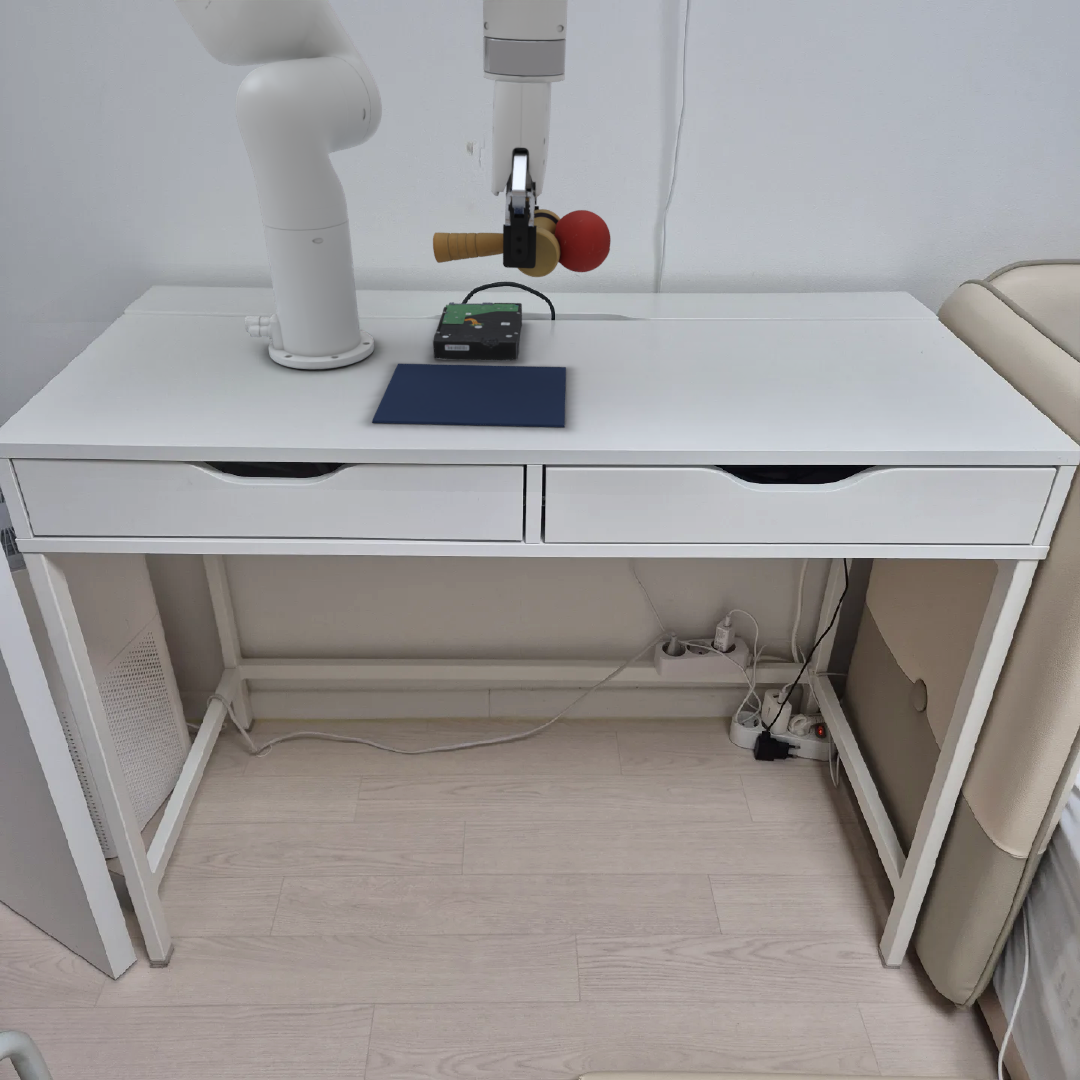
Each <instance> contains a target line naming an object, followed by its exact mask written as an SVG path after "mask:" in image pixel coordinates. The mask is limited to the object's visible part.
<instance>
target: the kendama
mask: <svg viewBox="0 0 1080 1080" xmlns="http://www.w3.org/2000/svg"><path fill="white" fill-rule="evenodd" d="M528 219H529V215H528ZM534 225H535V226H537V231H536V265H535V267H534V268H517V269H518V271H520V273H522V274H524V275H526V276H528V277H531V278H542V277H545V276H548V275H549V274H551V273H553V272H554V270H555V269H556V268H557V266H558V263H559V264H560V265H561V266H562V267H564V268H565V269H566V270H569V271H571V272H574V273H587V272H591V271H593V270H595V269H597V268H599V267H600V266H601V265H602V264H603V263H604V262H605V260H606V259H607V257H608V256H609V254H610V251H611V242H612V241H611V232H610V229H609V227H608V225H607V223H606V221H605V220H604V219H603V218H602V217H601V216H600V215H598V214H597V213H595V212H593V211H590V210H588V209H587V210H586V209H578V210H574V211H571V212H568V213H567V214H565V215H562V217H561V218H560V216H558V214H557V213H556V212H554V211H552V210H551V209H545V208H542V209H540V208H539V210H535V211H534ZM432 249H433V250H432V251H433V255H434V259H435V261H436V262H437V263H438V264H440V263H447V262H452V261H461V260H467V259H476V258H484V257H492V256H497V255H503V232H434V234H433V237H432Z"/></svg>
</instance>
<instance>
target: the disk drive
mask: <svg viewBox="0 0 1080 1080" xmlns="http://www.w3.org/2000/svg"><path fill="white" fill-rule="evenodd" d="M522 322H523V304H522V302H487V301H485V302H482V303H473V302H472V303H455V302H454V301H451V302H450V301H449V303H448V304H446V305H445V306H444V307H443V309H442V313H441V315H440V319H439V322H438V324H437V327H436V330H435V333H434V336H433V340H432V347H433V358H434V359H435V360H447V361H499V362H500V361H501V362H502V361H503V362H504V361H505V362H506V361H513V360H514V361H517V360H518V359H519V354H520V341H521V331H522V326H523V324H522Z"/></svg>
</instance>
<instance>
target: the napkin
mask: <svg viewBox="0 0 1080 1080" xmlns="http://www.w3.org/2000/svg"><path fill="white" fill-rule="evenodd" d="M566 387H567V367H566V366H537V365H536V366H534V365H533V366H531V365H525V366H524V365H486V364H485V365H484V364H483V365H482V364H480V365H479V364H445V363H443V364H441V363H440V364H439V363H436V364H435V363H397V365H396V367H395V369H394V371H393V374H392V376H391V378H390V380H389V382H388V384H387V387H386V388H385V390H384V394H383V395H382V398H381V399H380V402H379V404H378V407H377V409H376V410H375V414H374V416H373V417H372V420H371V423H372V424H395V425H396V424H398V425H399V424H400V425H401V424H403V425H408V424H409V425H439V426H441V425H442V426H443V425H445V426H447V425H448V426H450V425H451V426H483V427H484V426H487V427H489V426H490V427H527V428H528V427H529V428H531V427H532V428H539V427H540V428H565V427H566V426H565V425H566V390H567V389H566Z"/></svg>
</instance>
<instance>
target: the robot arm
mask: <svg viewBox="0 0 1080 1080" xmlns="http://www.w3.org/2000/svg"><path fill="white" fill-rule="evenodd" d="M172 1H173V2H174V4H175V5H176V8H177V9H178V10H179V12H180V13H181V15H182V17H183V18H184V19H185V21H186V23H187V25H189V27H190V29H191V31H192V32H193V33H194V35H195V36H196V38H197V39H198V41H199V42H200V43H201V46H203V48H204V49H205V50H206V52H207V53H208V54H209V55H210V56H211V57H212V58H213V59H215V60H216V61H218V62H220V63H222V64H223V65H228V66H235V67H240V66H243V67H245V66H257V65H260V66H258V67H255V68H254V69H253V70H251V71H249V73H248V74H247V75H246V76H245V77H244V78H243V79H242V81H241V83H240V84H239V86H238V89H237V91H236V97H235V117H236V122H237V126H238V129H239V132H240V135H241V138H242V141H243V144H244V147H245V150H246V153H247V156H248V159H249V162H250V165H251V169H252V174H253V177H254V181H255V187H256V191H257V196H258V203H259V208H260V216H261V221H262V227H263V231H264V232H263V233H264V238H265V245H266V252H267V258H268V264H269V265H268V266H269V271H270V278H271V279H270V280H271V284H272V289H273V290H272V292H273V297H274V305H275V312H276V313H272V314H271V315H270V317H269V316H262V315H260V316H259V315H246V316H245V318H244V328H245V331H246V332H247V333H248V335H249V336H250V338H263V337H264V338H269V340H271V341H270V342H269V343H268V353H269V357H270V358H271V360H272V361H274V363H277V364H279V365H281V366H284V367H286V368H287V367H288V368H293V369H300V370H326V369H327V370H328V369H335V368H341V367H345V366H349V365H354V364H355V363H358V362H361V361H362V360H365V359H366V358H368V357H369V356H370V355H372V353H373V351H374V350H375V341H374V338H373V336H372V335H371V334H370V333H368V332H367V331H365V330H362V329H361V327H360V319H359V308H358V298H357V289H356V279H355V269H354V261H353V260H354V259H353V250H352V240H351V239H352V238H351V229H350V220H349V211H348V205H347V199H346V194H345V191H344V188H343V185H342V182H341V180H340V178H339V176H338V173H337V171H336V170H335V167H334V166H333V164H332V162H331V159H330V156H329V155H330V154H332V153H335V152H340V151H344V150H348V149H351V148H355V147H358V146H361V145H363V144H365V143H366V142H368V141H369V140H370V139H372V138H373V137H374V136H375V134H376V133H377V131H378V130H379V127H380V125H381V122H382V116H383V105H382V98H381V94H380V90H379V87H378V84H377V82H376V79H375V77H374V75H373V73H372V71H371V69H370V68H369V65H368V64H367V62H366V61H365V59H364V57H363V56H362V54H361V52H360V51H359V49H358V47H357V46H356V44H355V43H354V40H353V39H352V38H351V36H350V34H349V32H348V31H347V29H346V27H345V26H344V24H343V22H342V21H341V19H340V17H339V16H338V14H337V13H336V10H335V9H334V7H333V6H332V4H331V3H330V1H329V0H172ZM482 20H483V21H482V37H483V38H482V40H483V41H482V42H483V45H482V46H483V47H482V48H483V49H482V50H483V55H482V57H483V58H482V59H483V61H482V62H483V63H482V64H483V65H482V66H483V69H482V70H483V74H482V75H483V78H484V79H487V80H491V81H494V86H493V101H492V128H491V129H492V138H491V143H492V144H491V149H492V150H491V159H492V160H491V189H490V190H491V191H490V192H491V193H492V194H493V195H494V196H495V197H499V194H500V193H504V191H505V217H504V219H505V220H504V224H502V233H503V254H502V265H503V267H504V268H508V269H518V268H534V267H535V265H536V231H537V226H535V225H534V211H535V210H539V209H540V206H539V205H537V204H538V197H539V196H541V195H542V193H543V188H544V182H545V177H546V171H547V163H548V156H549V153H548V152H549V143H550V127H551V107H552V106H551V104H552V83H558V82H561V81H565V79H566V76H565V75H566V53H567V52H566V51H567V26H568V25H567V24H568V0H482ZM528 215H529V219H528Z"/></svg>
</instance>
